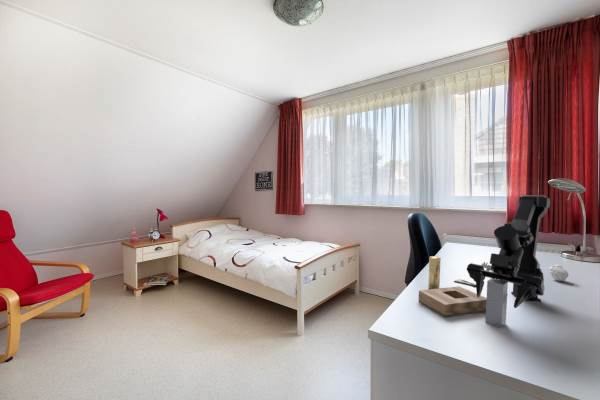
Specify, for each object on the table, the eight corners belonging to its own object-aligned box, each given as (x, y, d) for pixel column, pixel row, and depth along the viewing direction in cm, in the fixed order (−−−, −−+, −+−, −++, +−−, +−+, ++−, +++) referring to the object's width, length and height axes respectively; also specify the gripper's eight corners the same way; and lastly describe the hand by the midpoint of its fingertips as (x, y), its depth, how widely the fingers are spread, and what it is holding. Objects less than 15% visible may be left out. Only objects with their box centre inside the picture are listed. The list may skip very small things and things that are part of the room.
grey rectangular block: (490, 319, 83) (492, 278, 83) (505, 324, 80) (507, 281, 79) (485, 323, 81) (487, 280, 80) (501, 328, 78) (503, 284, 77)
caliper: (480, 274, 129) (480, 261, 129) (480, 273, 130) (481, 260, 130) (536, 283, 118) (537, 269, 117) (535, 282, 119) (536, 268, 118)
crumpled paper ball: (558, 278, 124) (559, 263, 123) (572, 283, 117) (573, 267, 117) (544, 277, 124) (545, 262, 124) (557, 283, 117) (558, 267, 117)
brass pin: (436, 287, 109) (438, 256, 109) (440, 291, 105) (442, 259, 105) (426, 287, 110) (427, 256, 109) (430, 290, 106) (431, 258, 105)
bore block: (459, 296, 100) (459, 286, 100) (489, 311, 89) (489, 299, 89) (418, 301, 96) (418, 290, 96) (444, 317, 84) (445, 304, 84)
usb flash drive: (478, 287, 111) (478, 285, 111) (468, 288, 110) (469, 286, 110) (460, 280, 120) (460, 278, 120) (451, 281, 118) (451, 279, 118)
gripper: (470, 239, 89) (454, 277, 83) (544, 249, 75) (532, 297, 68) (477, 258, 95) (463, 296, 88) (549, 272, 80) (538, 319, 73)
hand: (495, 301), depth 79 cm, fingers open, 9 cm apart
